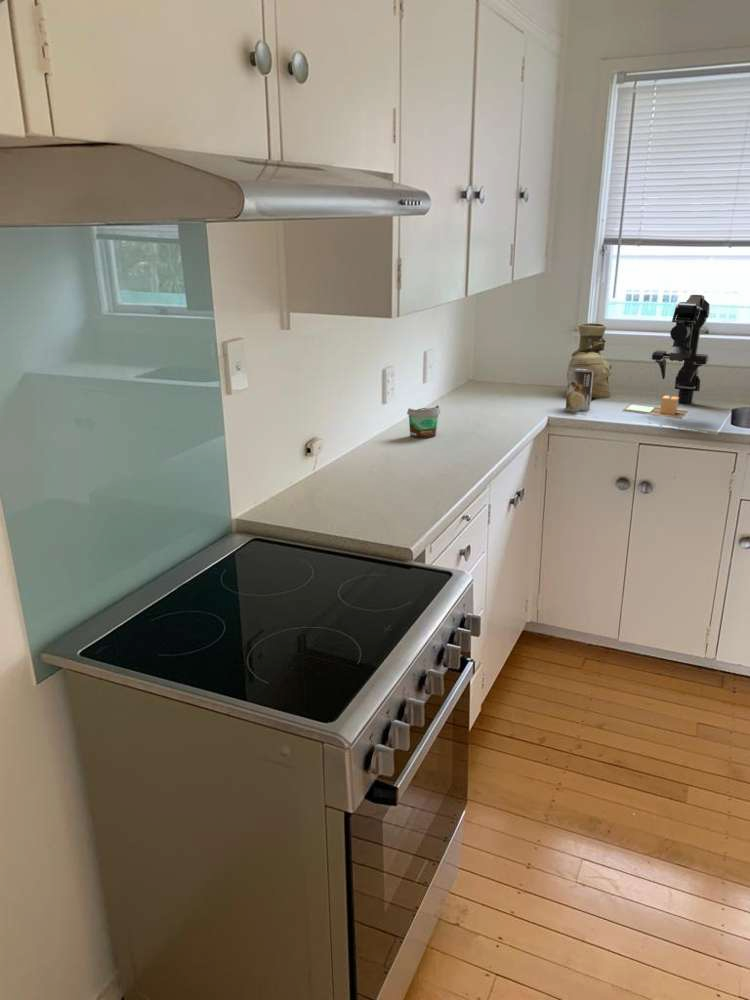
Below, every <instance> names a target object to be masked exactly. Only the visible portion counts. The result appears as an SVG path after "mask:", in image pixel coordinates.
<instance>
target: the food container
mask: <svg viewBox="0 0 750 1000" xmlns="http://www.w3.org/2000/svg"><path fill="white" fill-rule="evenodd" d="M435 406H436V407H421V408H418V409H413V408H410V407H408V409H407V412H406V415H408V424H409V437H411V438H415V439H422V440H423V439H432V438H435V437H436V435H437V428H438V419H439V415H441V408H440V405H438V404H436V405H435Z"/></svg>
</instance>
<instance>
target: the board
mask: <svg viewBox="0 0 750 1000" xmlns="http://www.w3.org/2000/svg"><path fill="white" fill-rule="evenodd" d="M630 405H634V404H633V403H632V404H631V403H630V404H629V405H627V406H626V407H625V408H623V409H622V410H621V412H625V413H631V414H632V413H633V414H641V415H646V416H647V415H648V416H656V417H665V418H673V419H680V420H681V419H683V417H684V416H685V415H686V414H687V413H688V412H689V410H682V409H681V410H680V409H677V413H676V414H675V415H669V414H661V413H660V409H661V407H658V406H657V407H656V406H654V407H655V409H654V410H653V411H651V412H650V413H644V412H636V411H629V410H626V409H627V408H628V407H629V406H630ZM637 405H638V406H643V405H640V404H637ZM646 406H647V405H646ZM647 407H651V406H647Z"/></svg>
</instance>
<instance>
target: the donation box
mask: <svg viewBox="0 0 750 1000" xmlns="http://www.w3.org/2000/svg"><path fill="white" fill-rule="evenodd" d="M678 400H679V397H678V396H673V395H666V394H665V395H664V396H663V397H661V404H660V408H661V409H660V413H661V414H669V415H675V414H676V413H677V410H678V406H679V403H678Z"/></svg>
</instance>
